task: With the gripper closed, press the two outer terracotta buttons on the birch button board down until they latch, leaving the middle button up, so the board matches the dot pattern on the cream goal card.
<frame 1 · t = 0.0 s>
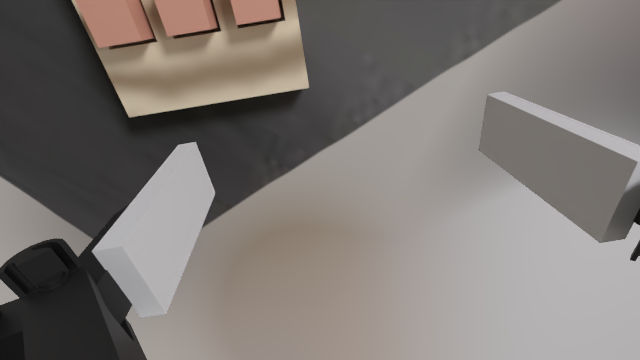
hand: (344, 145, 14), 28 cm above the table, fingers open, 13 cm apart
button a: (118, 18, 30), point 5 cm above the table, slide at 0.0 cm
button b: (186, 7, 30), point 5 cm above the table, slide at 0.0 cm
board: (199, 7, 34), on the table
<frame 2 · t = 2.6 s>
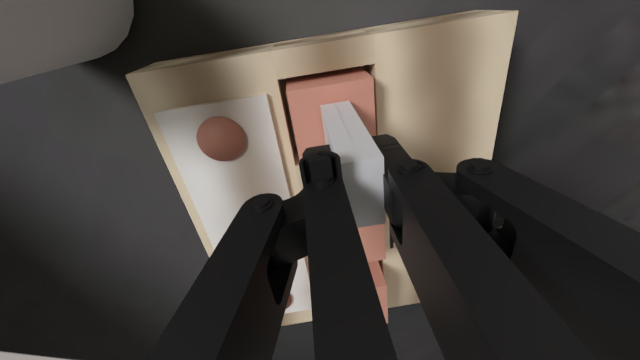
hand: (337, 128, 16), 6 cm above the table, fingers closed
button a: (353, 289, 23), point 5 cm above the table, slide at 0.0 cm
button b: (345, 221, 20), point 5 cm above the table, slide at 0.0 cm
button c: (330, 115, 17), point 3 cm above the table, slide at 1.3 cm, touching gripper
board: (335, 185, 24), on the table
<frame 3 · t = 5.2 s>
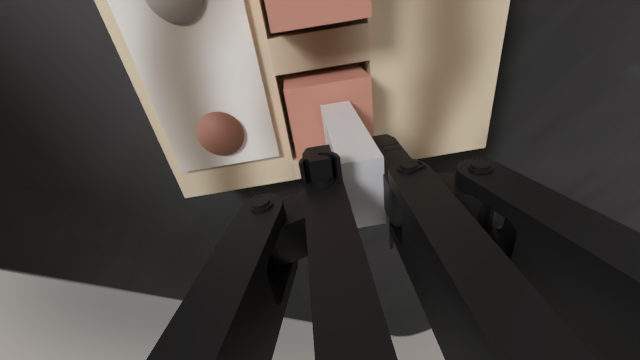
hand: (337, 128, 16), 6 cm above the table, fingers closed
button a: (328, 114, 17), point 4 cm above the table, slide at 0.7 cm, touching gripper
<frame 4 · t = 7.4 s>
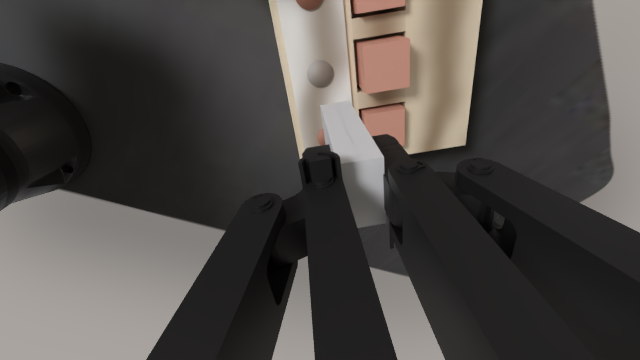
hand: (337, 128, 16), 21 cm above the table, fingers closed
button a: (381, 125, 34), point 3 cm above the table, slide at 1.4 cm
button b: (382, 64, 30), point 5 cm above the table, slide at 0.0 cm
board: (371, 57, 34), on the table
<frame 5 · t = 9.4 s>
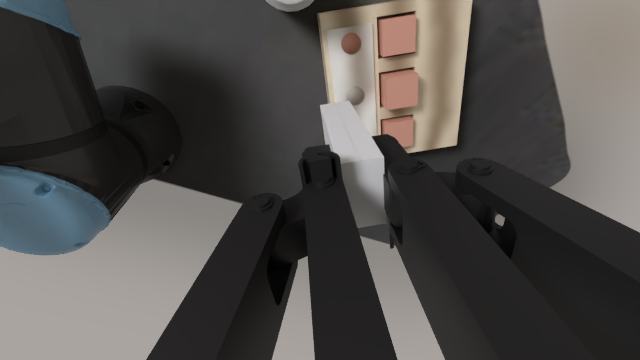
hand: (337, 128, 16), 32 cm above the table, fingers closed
button a: (395, 130, 48), point 3 cm above the table, slide at 1.4 cm
button b: (398, 89, 43), point 5 cm above the table, slide at 0.0 cm
button c: (394, 35, 40), point 3 cm above the table, slide at 1.4 cm
board: (389, 82, 47), on the table
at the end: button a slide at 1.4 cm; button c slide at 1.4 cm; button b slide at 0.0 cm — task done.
